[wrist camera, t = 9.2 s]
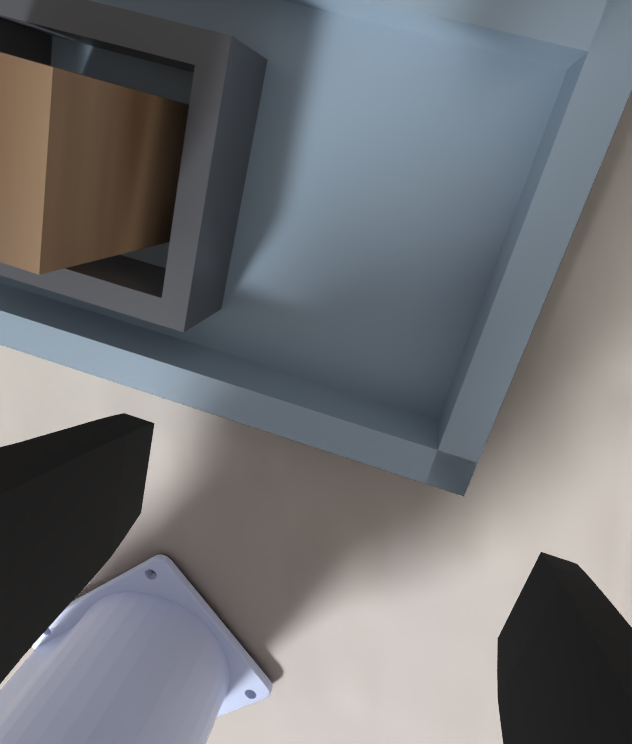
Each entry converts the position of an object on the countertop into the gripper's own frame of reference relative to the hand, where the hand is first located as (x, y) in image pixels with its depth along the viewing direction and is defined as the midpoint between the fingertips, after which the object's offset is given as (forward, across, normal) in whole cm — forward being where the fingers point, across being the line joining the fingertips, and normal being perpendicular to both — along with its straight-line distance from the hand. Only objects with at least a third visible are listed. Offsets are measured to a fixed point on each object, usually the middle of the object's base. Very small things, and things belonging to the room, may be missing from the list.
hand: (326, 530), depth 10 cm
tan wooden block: (+9, +9, -4) cm, 14 cm away
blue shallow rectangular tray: (+9, +6, -4) cm, 12 cm away
